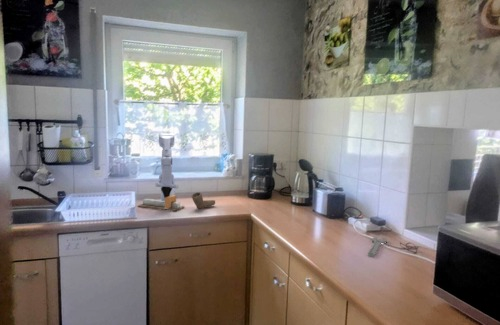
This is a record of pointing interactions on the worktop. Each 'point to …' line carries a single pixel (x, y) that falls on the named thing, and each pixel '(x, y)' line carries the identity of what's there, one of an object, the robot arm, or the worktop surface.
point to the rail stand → (160, 205)
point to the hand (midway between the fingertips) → (166, 199)
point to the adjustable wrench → (375, 246)
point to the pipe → (201, 201)
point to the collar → (169, 200)
